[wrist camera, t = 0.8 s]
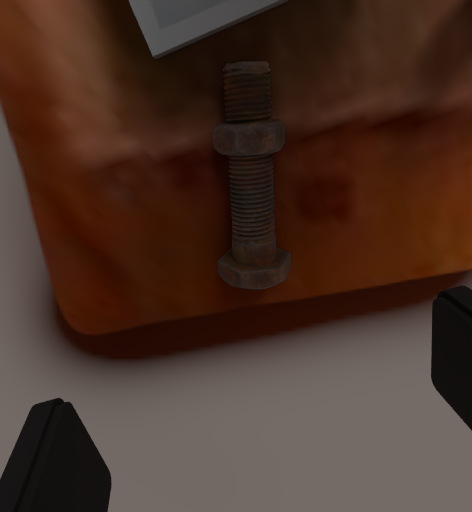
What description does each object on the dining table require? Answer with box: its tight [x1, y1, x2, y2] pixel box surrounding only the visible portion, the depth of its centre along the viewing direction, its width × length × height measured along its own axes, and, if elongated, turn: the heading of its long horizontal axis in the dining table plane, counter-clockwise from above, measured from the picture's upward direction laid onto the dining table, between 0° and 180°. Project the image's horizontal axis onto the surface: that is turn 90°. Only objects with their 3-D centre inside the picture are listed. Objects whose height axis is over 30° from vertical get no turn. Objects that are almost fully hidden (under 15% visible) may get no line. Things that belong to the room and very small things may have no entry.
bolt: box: [213, 61, 291, 290], centre depth 27 cm, size 6×5×15 cm
